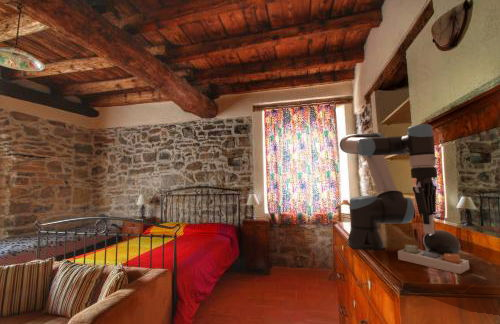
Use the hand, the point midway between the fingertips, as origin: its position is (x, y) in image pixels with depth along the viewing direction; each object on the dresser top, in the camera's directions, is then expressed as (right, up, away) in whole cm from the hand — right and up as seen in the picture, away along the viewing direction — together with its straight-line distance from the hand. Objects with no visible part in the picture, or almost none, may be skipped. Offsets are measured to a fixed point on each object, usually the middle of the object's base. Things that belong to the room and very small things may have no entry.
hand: (429, 233), depth 81 cm
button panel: (0, -11, -1) cm, 11 cm away
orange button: (+3, -8, -6) cm, 10 cm away
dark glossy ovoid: (+13, -7, +8) cm, 17 cm away
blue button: (0, -9, 0) cm, 9 cm away
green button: (-3, -9, +5) cm, 11 cm away
